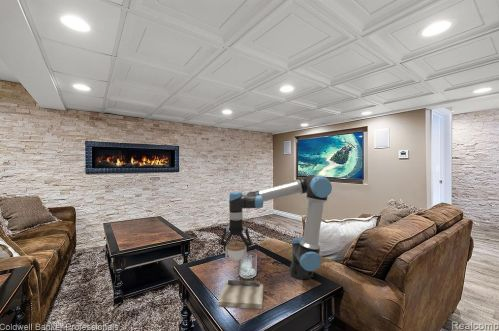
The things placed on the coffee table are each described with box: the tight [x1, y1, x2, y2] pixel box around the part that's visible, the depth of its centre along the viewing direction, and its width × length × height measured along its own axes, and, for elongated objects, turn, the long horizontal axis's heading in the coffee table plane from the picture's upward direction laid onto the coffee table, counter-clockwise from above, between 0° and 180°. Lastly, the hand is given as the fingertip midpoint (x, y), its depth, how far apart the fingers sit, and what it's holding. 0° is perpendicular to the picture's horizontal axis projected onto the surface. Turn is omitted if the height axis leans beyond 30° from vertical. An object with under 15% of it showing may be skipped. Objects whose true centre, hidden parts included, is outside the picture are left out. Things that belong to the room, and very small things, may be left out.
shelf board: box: [217, 279, 264, 310], centre depth 120 cm, size 22×18×4 cm
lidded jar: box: [227, 241, 246, 262], centre depth 129 cm, size 11×11×9 cm
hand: (236, 256), depth 129 cm, fingers closed on lidded jar, 11 cm apart
